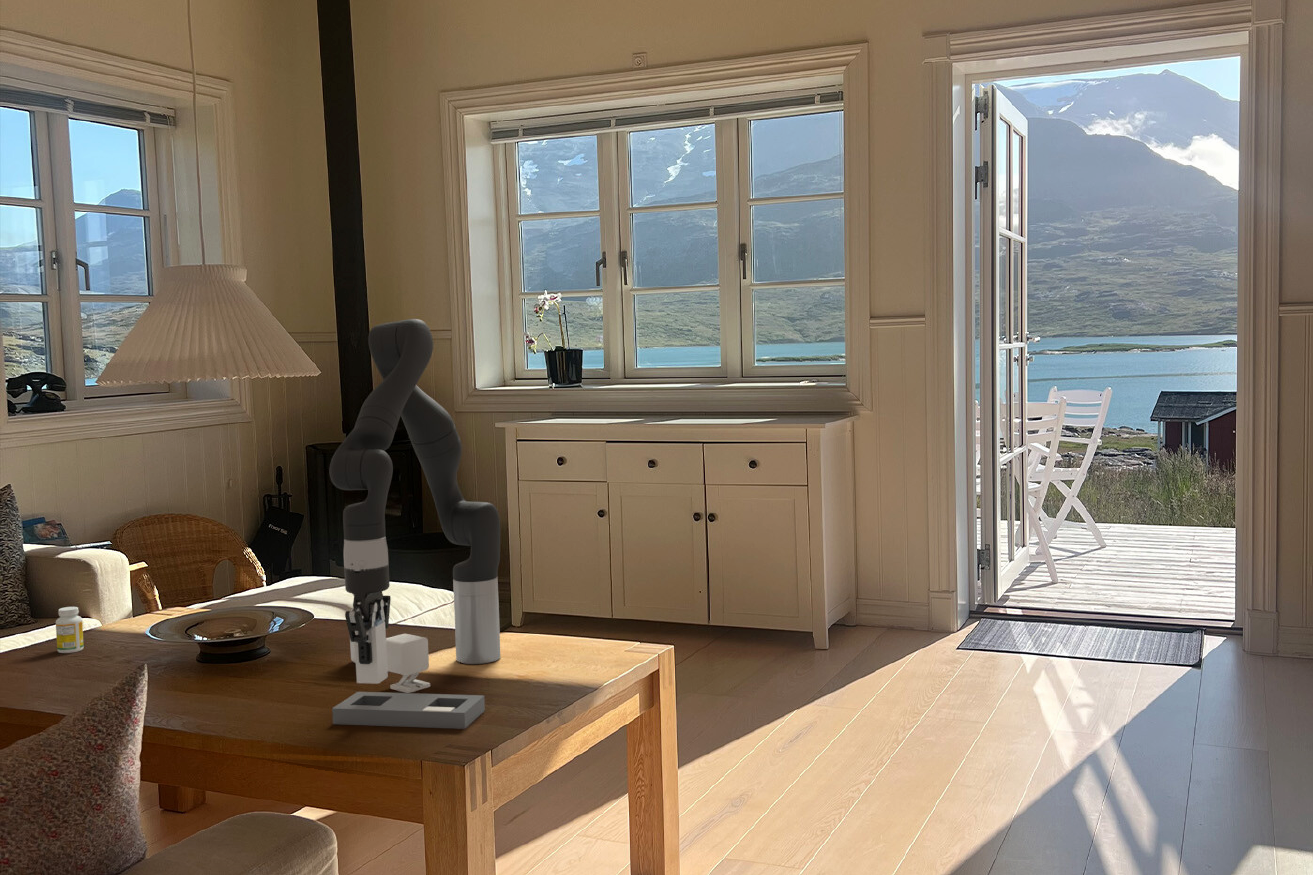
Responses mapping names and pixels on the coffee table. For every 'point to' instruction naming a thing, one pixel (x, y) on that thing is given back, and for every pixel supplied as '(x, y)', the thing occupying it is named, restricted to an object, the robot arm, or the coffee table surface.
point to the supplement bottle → (69, 630)
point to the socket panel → (409, 710)
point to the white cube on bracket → (407, 660)
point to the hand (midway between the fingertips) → (371, 659)
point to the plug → (374, 657)
